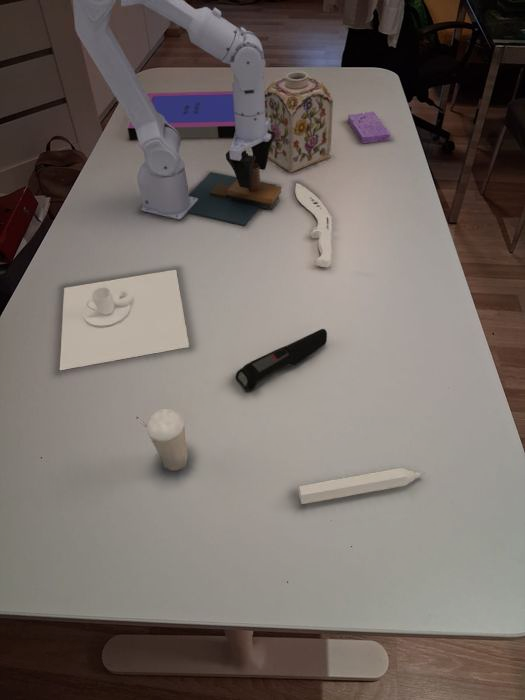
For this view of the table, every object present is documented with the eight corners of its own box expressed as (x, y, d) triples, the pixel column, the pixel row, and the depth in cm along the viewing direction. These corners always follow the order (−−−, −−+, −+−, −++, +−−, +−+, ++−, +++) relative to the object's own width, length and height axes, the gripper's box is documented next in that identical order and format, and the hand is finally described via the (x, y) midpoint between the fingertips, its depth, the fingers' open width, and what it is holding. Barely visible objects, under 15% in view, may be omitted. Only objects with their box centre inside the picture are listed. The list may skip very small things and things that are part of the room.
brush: (228, 201, 112) (224, 167, 107) (238, 189, 116) (235, 155, 110) (272, 210, 109) (271, 176, 104) (281, 198, 113) (281, 164, 107)
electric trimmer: (332, 350, 83) (333, 336, 81) (247, 394, 78) (246, 380, 75) (317, 336, 86) (318, 321, 83) (234, 378, 80) (232, 364, 78)
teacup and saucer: (134, 291, 94) (129, 273, 91) (136, 322, 89) (131, 303, 86) (83, 300, 93) (76, 281, 90) (83, 331, 88) (75, 313, 85)
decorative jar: (331, 158, 124) (336, 76, 111) (290, 174, 120) (291, 91, 107) (299, 139, 131) (301, 60, 118) (260, 154, 127) (257, 73, 113)
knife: (295, 179, 117) (331, 179, 116) (295, 186, 118) (331, 186, 117) (288, 260, 96) (332, 261, 95) (288, 268, 97) (331, 268, 96)
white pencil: (423, 481, 68) (300, 503, 66) (419, 464, 69) (297, 486, 67) (430, 481, 66) (303, 504, 64) (426, 463, 66) (300, 486, 64)
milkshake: (152, 447, 72) (137, 402, 65) (192, 444, 72) (182, 398, 65) (150, 477, 69) (134, 433, 62) (192, 473, 69) (181, 429, 62)
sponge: (373, 118, 137) (374, 111, 136) (389, 140, 129) (391, 133, 127) (346, 121, 137) (347, 114, 135) (361, 144, 128) (362, 136, 127)
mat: (175, 210, 112) (174, 208, 111) (210, 173, 121) (210, 171, 121) (244, 226, 107) (244, 224, 106) (276, 186, 116) (276, 184, 116)
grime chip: (210, 195, 114) (209, 192, 114) (218, 186, 117) (218, 183, 116) (226, 199, 113) (226, 195, 112) (235, 189, 115) (234, 186, 115)
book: (249, 125, 130) (127, 128, 132) (250, 137, 133) (130, 140, 134) (253, 90, 145) (142, 93, 146) (253, 101, 147) (145, 104, 148)
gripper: (252, 129, 93) (255, 199, 103) (284, 97, 102) (284, 164, 112) (216, 123, 95) (223, 192, 105) (250, 92, 104) (253, 158, 114)
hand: (252, 177), depth 109 cm, fingers open, 7 cm apart
